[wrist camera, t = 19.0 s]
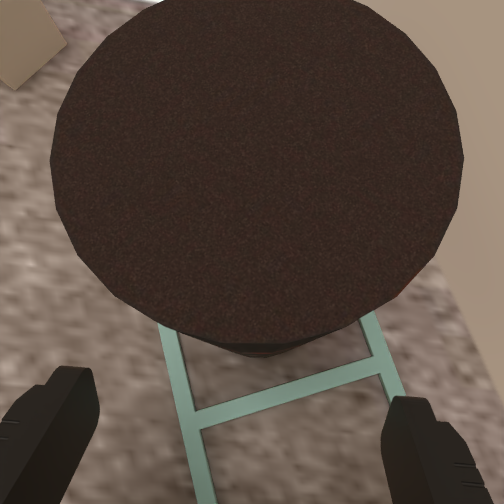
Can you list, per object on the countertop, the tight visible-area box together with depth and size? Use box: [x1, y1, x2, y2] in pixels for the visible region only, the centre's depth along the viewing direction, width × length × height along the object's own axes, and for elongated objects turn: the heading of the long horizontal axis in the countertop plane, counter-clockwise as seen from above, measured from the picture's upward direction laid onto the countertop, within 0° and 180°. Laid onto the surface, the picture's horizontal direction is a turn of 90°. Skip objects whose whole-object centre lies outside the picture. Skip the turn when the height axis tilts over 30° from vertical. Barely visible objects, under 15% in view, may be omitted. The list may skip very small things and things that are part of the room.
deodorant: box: [50, 0, 464, 357], centre depth 13 cm, size 6×6×15 cm
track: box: [158, 310, 406, 504], centre depth 17 cm, size 30×11×1 cm, turn 16°
